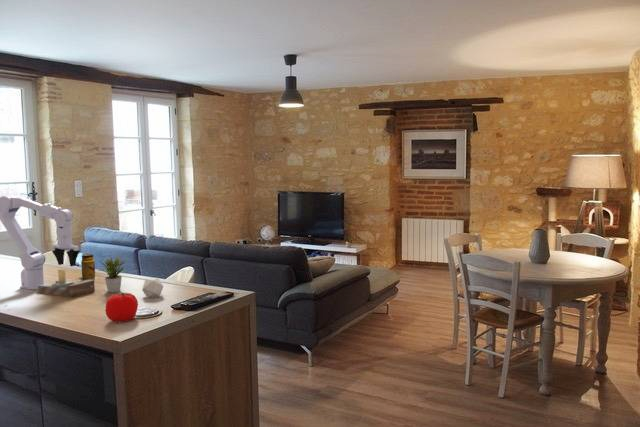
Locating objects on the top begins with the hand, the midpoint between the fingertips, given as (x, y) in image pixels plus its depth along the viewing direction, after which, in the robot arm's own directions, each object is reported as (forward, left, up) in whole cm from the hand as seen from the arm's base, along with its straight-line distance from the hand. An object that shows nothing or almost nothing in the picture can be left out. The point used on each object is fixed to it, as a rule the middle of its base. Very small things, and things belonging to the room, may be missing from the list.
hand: (66, 265), depth 242 cm
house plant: (+26, +3, -11) cm, 28 cm away
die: (+48, +3, -11) cm, 49 cm away
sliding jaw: (+4, -6, -9) cm, 11 cm away
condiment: (-6, +16, -11) cm, 20 cm away
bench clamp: (+6, -6, -10) cm, 13 cm away
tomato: (+61, -27, -11) cm, 67 cm away
